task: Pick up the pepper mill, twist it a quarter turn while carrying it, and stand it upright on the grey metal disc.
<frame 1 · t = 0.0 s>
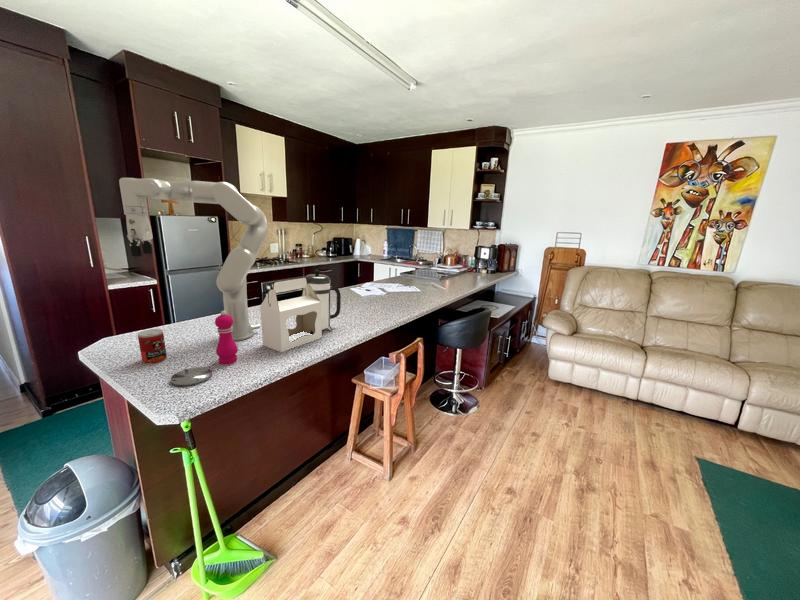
hand: (142, 254, 135), 37 cm above the countertop, tool pointing down, fingers open, 9 cm apart
gable box: (293, 342, 149), on the countertop, touching coffee press
grey metal disc: (192, 378, 113), on the countertop
coffee press: (319, 329, 165), on the countertop, touching gable box
pepper mill: (228, 361, 127), on the countertop
canned food: (154, 360, 126), on the countertop
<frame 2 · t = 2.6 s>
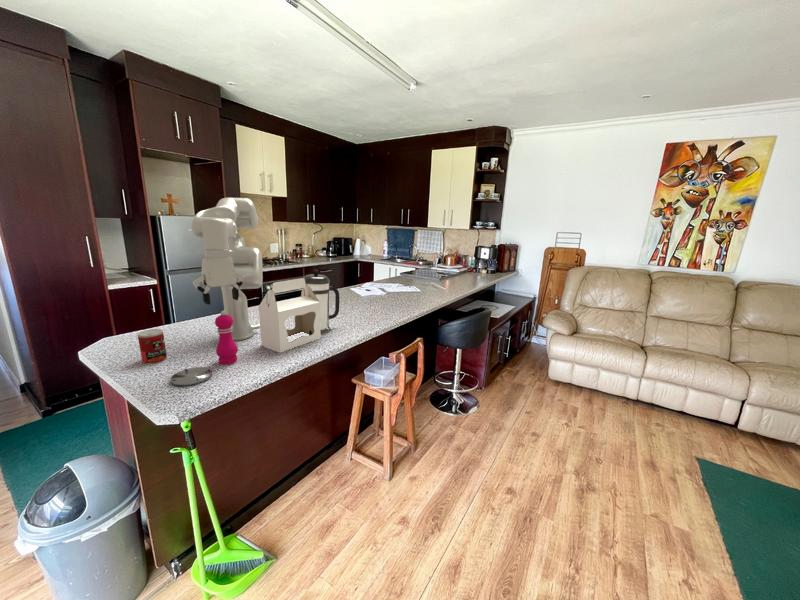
hand: (222, 301, 121), 24 cm above the countertop, tool pointing down, fingers open, 9 cm apart
coffee press: (317, 330, 164), on the countertop, touching gable box
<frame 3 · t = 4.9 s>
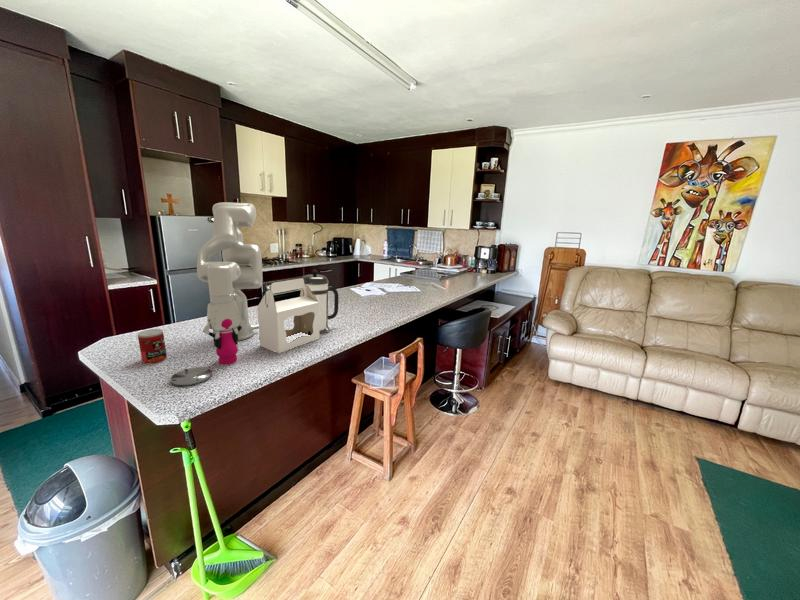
hand: (226, 345, 125), 7 cm above the countertop, tool pointing down, fingers closed on pepper mill, 5 cm apart
pepper mill: (228, 361, 127), on the countertop, touching gripper
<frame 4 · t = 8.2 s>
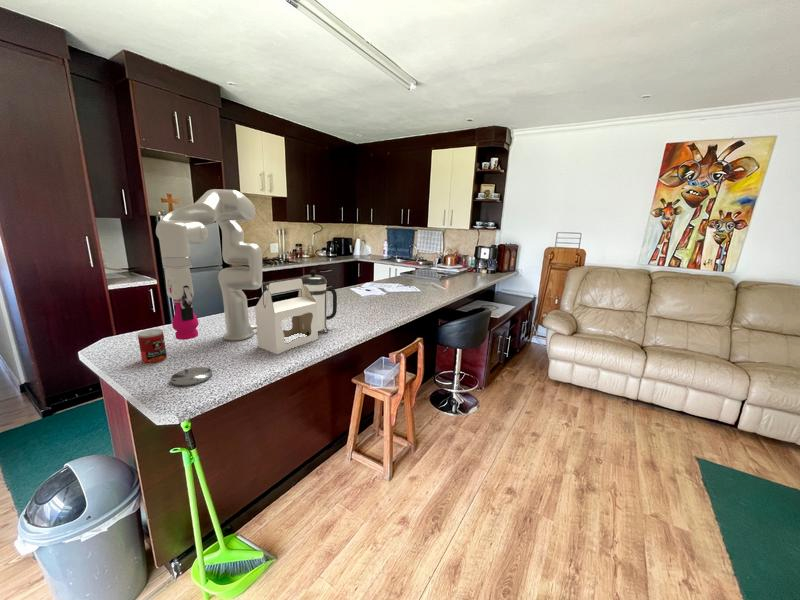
hand: (184, 317, 108), 21 cm above the countertop, tool pointing down, fingers closed on pepper mill, 5 cm apart
gable box: (289, 343, 147), on the countertop
coffee press: (315, 331, 163), on the countertop
pepper mill: (187, 337, 110), point 15 cm above the countertop, touching gripper
everything else where it was.
when the fingers open (9 cm above the countertop, at t = 11.2 s): pepper mill drops 1 cm, resting on grey metal disc.
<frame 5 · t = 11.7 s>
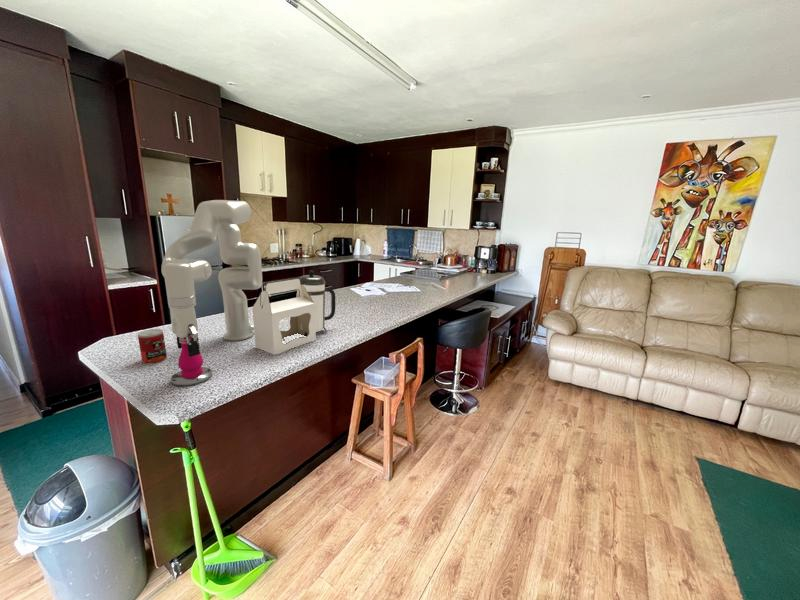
hand: (188, 351, 111), 10 cm above the countertop, tool pointing down, fingers open, 9 cm apart
gable box: (286, 344, 146), on the countertop, touching coffee press
coffee press: (313, 331, 162), on the countertop, touching gable box
pepper mill: (192, 375, 113), point 1 cm above the countertop, touching grey metal disc
everything else where it was.
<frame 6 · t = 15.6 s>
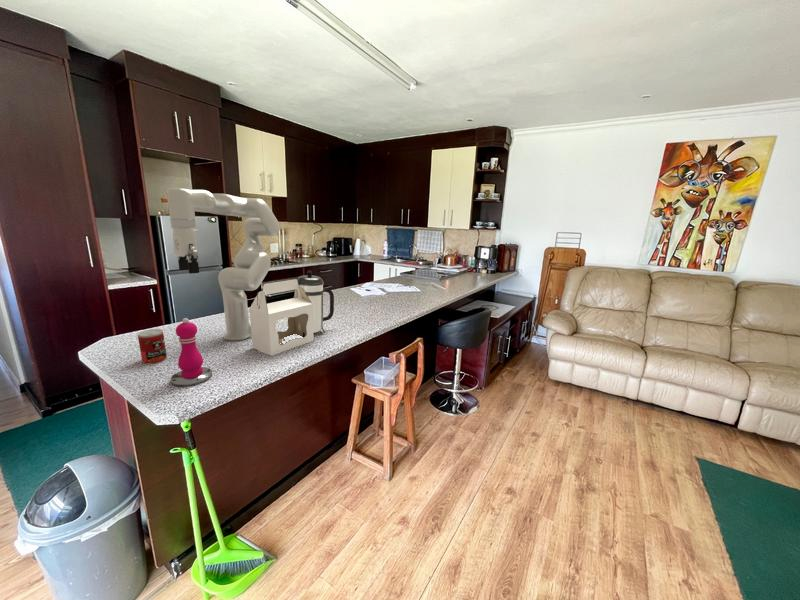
hand: (189, 271, 124), 33 cm above the countertop, tool pointing down, fingers open, 9 cm apart
gable box: (284, 344, 145), on the countertop, touching coffee press
coffee press: (311, 332, 161), on the countertop, touching gable box
everything else where it was.
at the end: pepper mill inside the target area on the grey metal disc (0.2 cm from its centre), point 1.0 cm above the grey metal disc's base; pepper mill tilted 0°; the gripper is holding nothing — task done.
